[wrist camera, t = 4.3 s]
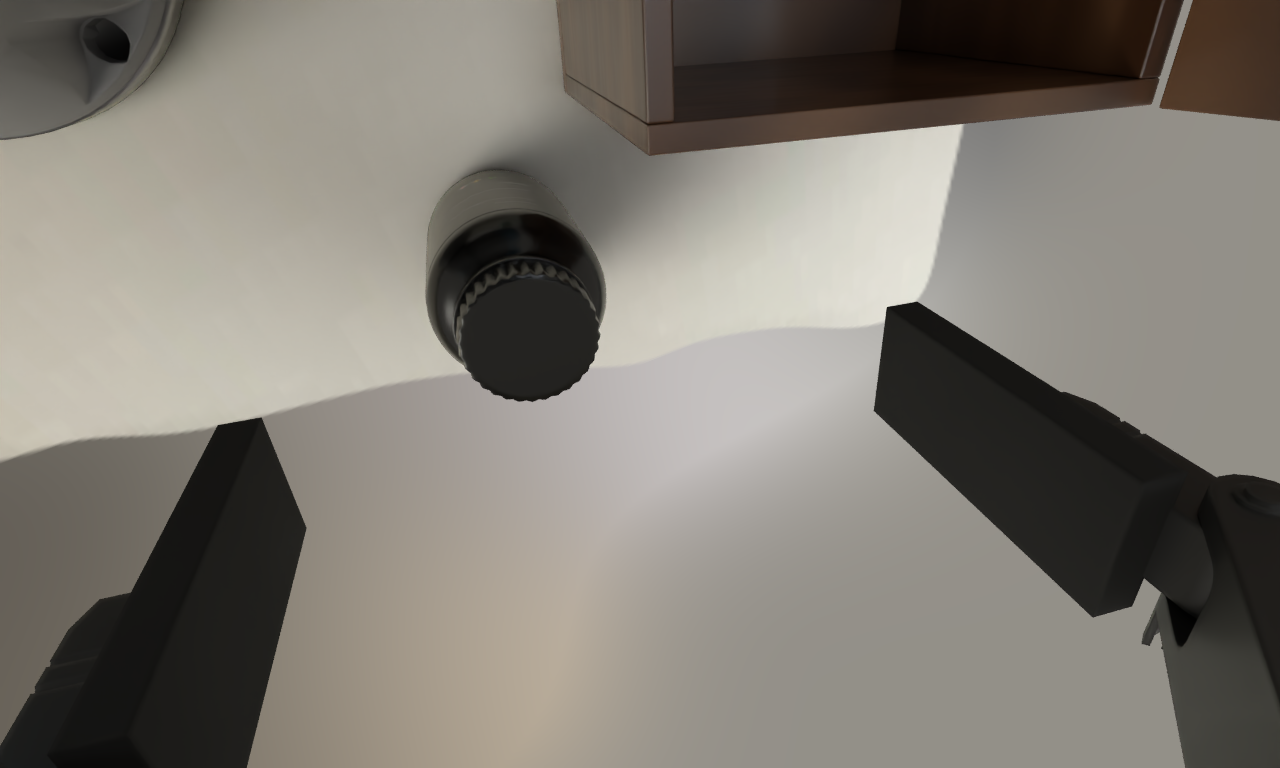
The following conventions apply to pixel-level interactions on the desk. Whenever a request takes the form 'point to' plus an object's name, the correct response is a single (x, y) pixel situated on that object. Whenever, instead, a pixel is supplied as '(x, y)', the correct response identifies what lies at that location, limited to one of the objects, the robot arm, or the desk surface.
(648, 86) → the storage box
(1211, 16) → the box lid
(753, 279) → the desk surface
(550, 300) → the supplement bottle
